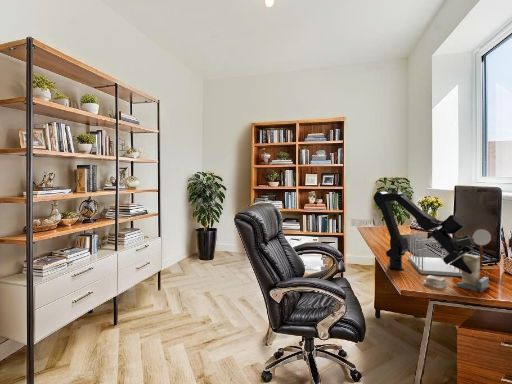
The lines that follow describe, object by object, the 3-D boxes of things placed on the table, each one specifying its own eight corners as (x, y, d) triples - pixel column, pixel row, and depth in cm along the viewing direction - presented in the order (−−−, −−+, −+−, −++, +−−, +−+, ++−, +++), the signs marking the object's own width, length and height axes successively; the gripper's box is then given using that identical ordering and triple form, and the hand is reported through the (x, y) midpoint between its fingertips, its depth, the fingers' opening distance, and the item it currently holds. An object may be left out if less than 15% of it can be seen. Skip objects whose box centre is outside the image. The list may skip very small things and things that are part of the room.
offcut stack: (423, 285, 128) (423, 276, 128) (428, 282, 131) (428, 274, 131) (441, 289, 123) (441, 281, 123) (446, 286, 126) (446, 278, 126)
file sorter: (462, 277, 136) (463, 243, 135) (420, 274, 141) (420, 241, 140) (443, 261, 161) (444, 232, 160) (408, 259, 165) (408, 231, 164)
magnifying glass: (471, 268, 147) (472, 228, 146) (469, 267, 149) (470, 227, 147) (491, 269, 145) (492, 228, 144) (489, 268, 146) (491, 228, 145)
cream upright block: (461, 285, 126) (462, 255, 125) (465, 283, 128) (465, 253, 128) (475, 289, 122) (476, 257, 121) (479, 286, 124) (479, 255, 124)
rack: (456, 286, 125) (457, 277, 125) (464, 281, 131) (464, 272, 130) (481, 292, 118) (481, 282, 118) (488, 286, 124) (488, 277, 124)
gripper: (452, 232, 121) (484, 265, 113) (468, 226, 133) (498, 256, 125) (431, 248, 128) (460, 280, 120) (448, 241, 139) (475, 270, 131)
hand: (474, 271), depth 124 cm, fingers open, 8 cm apart
